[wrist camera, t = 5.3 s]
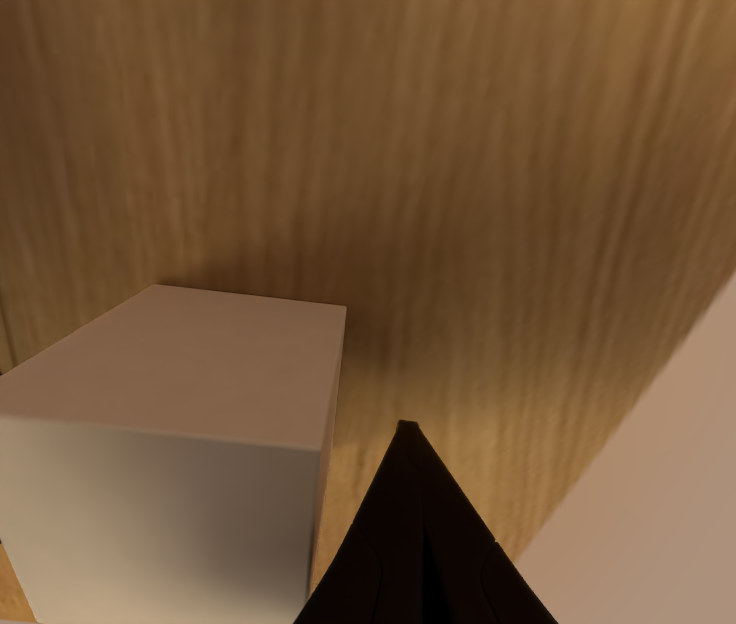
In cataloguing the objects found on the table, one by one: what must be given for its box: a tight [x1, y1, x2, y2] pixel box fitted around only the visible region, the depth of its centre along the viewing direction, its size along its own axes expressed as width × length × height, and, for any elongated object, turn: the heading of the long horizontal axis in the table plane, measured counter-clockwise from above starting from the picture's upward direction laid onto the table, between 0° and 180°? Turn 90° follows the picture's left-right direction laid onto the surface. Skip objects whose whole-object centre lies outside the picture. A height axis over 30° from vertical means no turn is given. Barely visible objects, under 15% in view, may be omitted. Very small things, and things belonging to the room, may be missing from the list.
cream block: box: [0, 284, 347, 624], centre depth 8 cm, size 5×5×5 cm
